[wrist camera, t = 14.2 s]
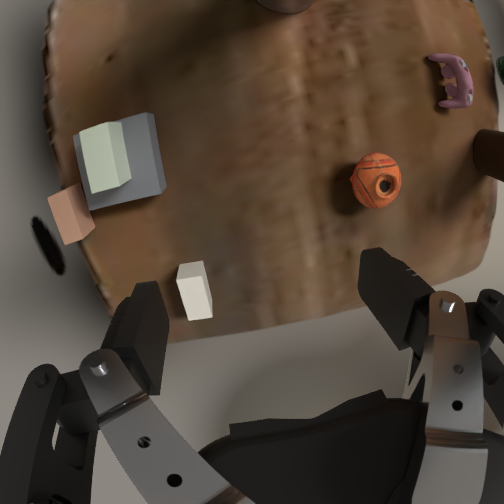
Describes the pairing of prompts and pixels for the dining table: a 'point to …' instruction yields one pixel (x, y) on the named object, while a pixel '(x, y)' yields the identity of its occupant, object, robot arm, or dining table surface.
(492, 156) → the brown bottle
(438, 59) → the video game controller
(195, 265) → the cream brick
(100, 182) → the sage brick
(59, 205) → the terracotta brick
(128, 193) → the charcoal block
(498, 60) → the canned tomato
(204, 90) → the dining table surface
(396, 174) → the pot
